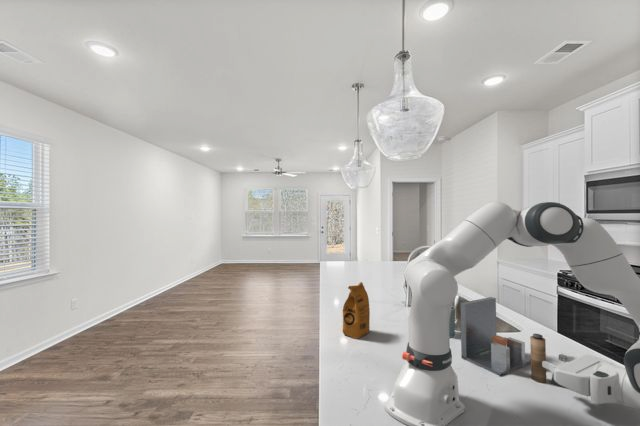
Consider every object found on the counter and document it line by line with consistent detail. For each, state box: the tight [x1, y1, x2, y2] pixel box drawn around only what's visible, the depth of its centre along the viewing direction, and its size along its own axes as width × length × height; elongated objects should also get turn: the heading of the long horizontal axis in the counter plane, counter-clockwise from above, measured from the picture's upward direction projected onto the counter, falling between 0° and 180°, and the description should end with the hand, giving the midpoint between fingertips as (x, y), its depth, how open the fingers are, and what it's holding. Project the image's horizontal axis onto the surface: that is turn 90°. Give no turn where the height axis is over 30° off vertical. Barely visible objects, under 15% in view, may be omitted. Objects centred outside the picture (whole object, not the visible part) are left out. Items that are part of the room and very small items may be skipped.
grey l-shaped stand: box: [460, 296, 531, 377], centre depth 104 cm, size 18×14×20 cm
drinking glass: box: [449, 305, 456, 338], centre depth 129 cm, size 10×10×12 cm
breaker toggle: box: [492, 335, 507, 347], centre depth 103 cm, size 3×3×7 cm
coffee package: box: [342, 281, 371, 340], centre depth 130 cm, size 10×12×22 cm
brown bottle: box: [529, 333, 547, 384], centre depth 91 cm, size 4×4×14 cm
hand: (551, 359), depth 88 cm, fingers open, 8 cm apart
